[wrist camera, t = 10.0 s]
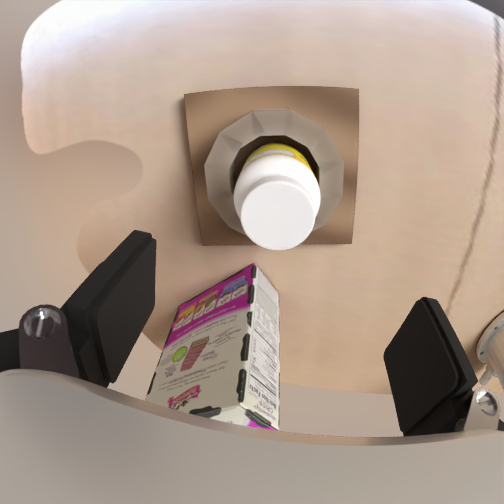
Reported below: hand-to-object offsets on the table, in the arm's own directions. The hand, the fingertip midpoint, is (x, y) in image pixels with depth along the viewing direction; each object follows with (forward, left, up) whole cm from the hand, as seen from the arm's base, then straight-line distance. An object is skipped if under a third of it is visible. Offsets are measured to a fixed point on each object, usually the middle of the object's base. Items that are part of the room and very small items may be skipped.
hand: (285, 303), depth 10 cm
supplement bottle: (0, 0, -17) cm, 17 cm away
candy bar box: (-14, +6, -18) cm, 24 cm away
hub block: (0, +1, -18) cm, 18 cm away
